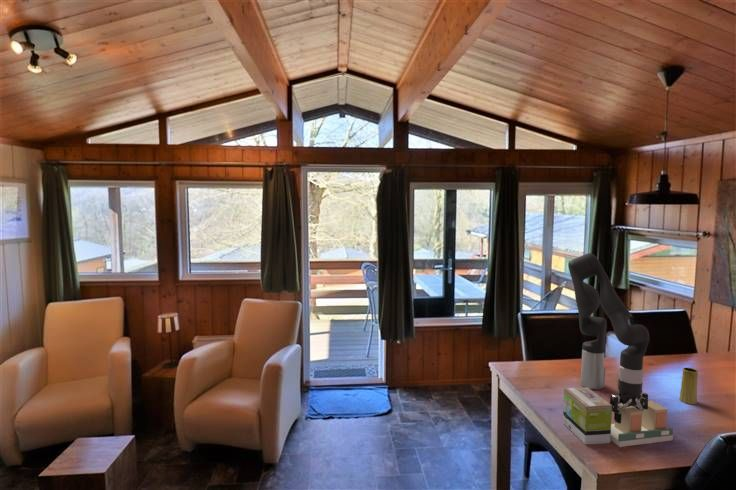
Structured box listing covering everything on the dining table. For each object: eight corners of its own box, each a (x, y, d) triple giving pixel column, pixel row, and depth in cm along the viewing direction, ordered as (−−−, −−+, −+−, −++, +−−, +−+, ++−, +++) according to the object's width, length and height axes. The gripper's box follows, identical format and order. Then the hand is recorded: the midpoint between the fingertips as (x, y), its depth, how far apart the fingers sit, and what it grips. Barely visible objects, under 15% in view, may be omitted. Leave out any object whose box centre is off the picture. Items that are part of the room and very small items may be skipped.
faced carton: (649, 422, 160) (650, 400, 159) (666, 432, 153) (667, 409, 152) (638, 424, 159) (639, 401, 158) (654, 434, 152) (656, 410, 151)
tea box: (561, 423, 164) (563, 387, 162) (586, 422, 165) (587, 386, 163) (584, 445, 149) (586, 405, 147) (611, 444, 150) (613, 404, 148)
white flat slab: (647, 424, 162) (647, 414, 162) (672, 440, 152) (673, 429, 151) (597, 430, 158) (597, 419, 158) (620, 447, 147) (620, 435, 147)
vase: (693, 399, 184) (695, 368, 183) (699, 405, 178) (701, 373, 177) (677, 397, 186) (679, 366, 185) (682, 403, 180) (684, 371, 179)
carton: (625, 425, 158) (627, 402, 157) (641, 435, 151) (643, 411, 150) (614, 426, 157) (615, 403, 157) (629, 437, 150) (631, 413, 149)
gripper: (638, 373, 157) (636, 414, 159) (605, 376, 155) (603, 418, 156) (655, 381, 150) (653, 424, 152) (621, 384, 148) (618, 428, 149)
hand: (627, 421), depth 154 cm, fingers open, 8 cm apart
